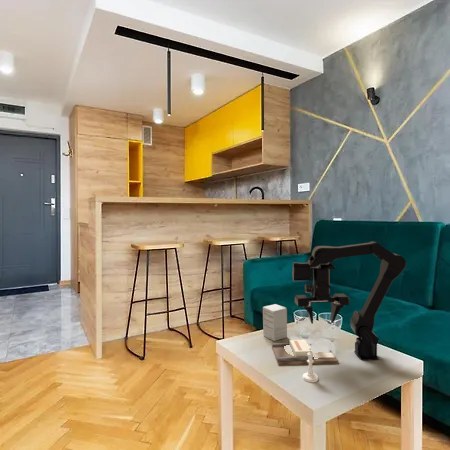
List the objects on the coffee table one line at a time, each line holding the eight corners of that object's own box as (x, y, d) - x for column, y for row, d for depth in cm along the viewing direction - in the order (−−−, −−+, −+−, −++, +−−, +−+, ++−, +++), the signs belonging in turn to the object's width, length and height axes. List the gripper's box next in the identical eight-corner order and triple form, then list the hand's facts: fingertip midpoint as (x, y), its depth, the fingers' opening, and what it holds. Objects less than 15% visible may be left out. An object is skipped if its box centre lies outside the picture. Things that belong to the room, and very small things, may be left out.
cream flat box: (305, 345, 127) (305, 339, 127) (312, 357, 117) (312, 350, 117) (289, 346, 127) (289, 339, 126) (295, 358, 117) (295, 351, 116)
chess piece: (318, 375, 107) (317, 345, 107) (318, 383, 103) (318, 351, 102) (302, 373, 108) (302, 344, 108) (302, 381, 104) (302, 350, 103)
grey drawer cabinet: (276, 331, 145) (275, 303, 144) (287, 337, 138) (287, 307, 138) (262, 335, 141) (262, 306, 140) (273, 341, 135) (273, 311, 134)
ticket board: (325, 346, 129) (325, 341, 129) (338, 363, 115) (338, 357, 115) (272, 347, 129) (271, 342, 128) (278, 365, 115) (278, 359, 115)
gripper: (338, 275, 128) (339, 315, 129) (291, 277, 128) (291, 316, 129) (350, 282, 117) (350, 325, 118) (297, 283, 117) (298, 327, 118)
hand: (322, 323), depth 121 cm, fingers open, 7 cm apart
